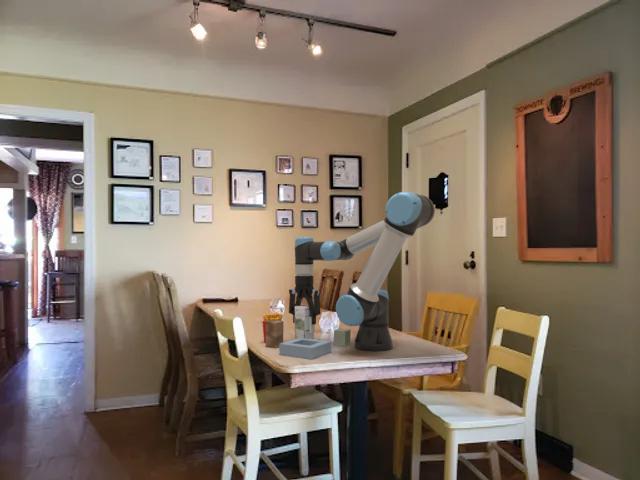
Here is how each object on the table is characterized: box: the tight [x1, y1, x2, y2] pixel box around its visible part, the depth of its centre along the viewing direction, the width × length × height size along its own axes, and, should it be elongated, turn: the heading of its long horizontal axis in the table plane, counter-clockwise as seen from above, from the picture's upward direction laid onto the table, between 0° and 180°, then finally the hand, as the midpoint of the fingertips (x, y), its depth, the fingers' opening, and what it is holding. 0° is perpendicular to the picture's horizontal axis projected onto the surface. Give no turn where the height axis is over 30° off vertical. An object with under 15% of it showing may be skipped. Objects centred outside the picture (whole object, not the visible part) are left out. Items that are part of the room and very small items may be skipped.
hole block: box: [278, 338, 332, 360], centre depth 180 cm, size 14×14×4 cm
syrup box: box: [294, 304, 315, 340], centre depth 196 cm, size 6×6×14 cm
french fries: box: [261, 312, 284, 344], centre depth 201 cm, size 8×4×12 cm, turn 119°
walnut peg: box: [265, 320, 284, 349], centre depth 192 cm, size 5×5×10 cm
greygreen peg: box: [333, 328, 352, 347], centre depth 197 cm, size 5×5×6 cm
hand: (304, 331), depth 196 cm, fingers closed on syrup box, 6 cm apart
